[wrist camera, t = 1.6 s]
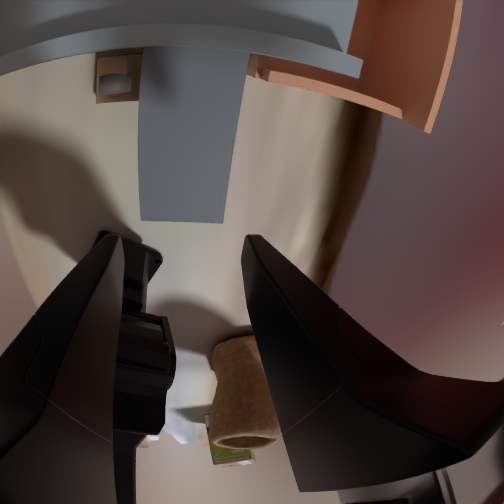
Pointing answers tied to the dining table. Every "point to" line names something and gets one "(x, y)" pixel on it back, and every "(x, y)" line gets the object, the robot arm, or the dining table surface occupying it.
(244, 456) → the tea box
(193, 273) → the dining table surface
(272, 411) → the stone cup
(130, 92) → the lever stand
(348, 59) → the grey flat piece
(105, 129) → the dining table surface
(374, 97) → the brown boxy piece
